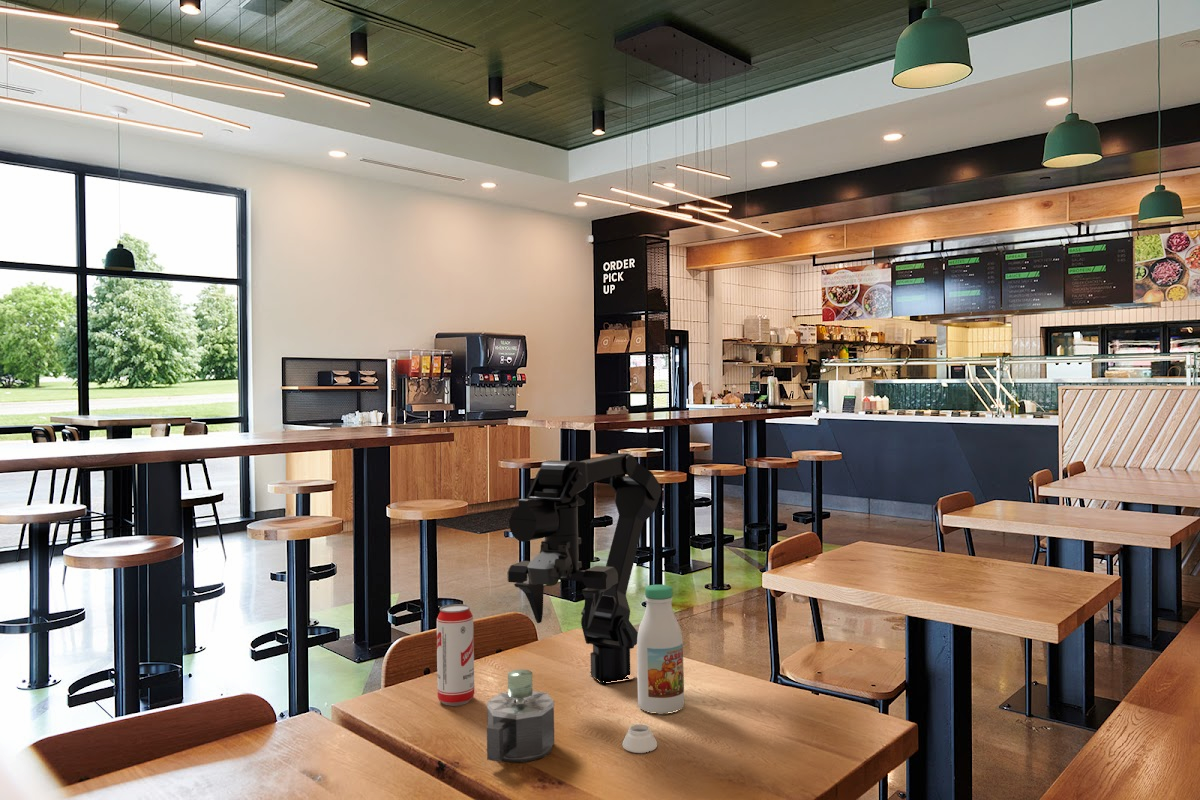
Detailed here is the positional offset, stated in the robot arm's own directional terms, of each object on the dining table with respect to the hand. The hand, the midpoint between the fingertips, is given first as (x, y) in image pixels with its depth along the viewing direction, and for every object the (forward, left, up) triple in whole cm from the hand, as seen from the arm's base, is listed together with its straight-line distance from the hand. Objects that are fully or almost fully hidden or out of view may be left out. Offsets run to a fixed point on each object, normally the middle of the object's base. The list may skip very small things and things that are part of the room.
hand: (562, 625), depth 137 cm
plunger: (+12, +16, -12) cm, 23 cm away
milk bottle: (-14, +9, -13) cm, 21 cm away
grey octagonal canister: (+13, +17, -13) cm, 25 cm away
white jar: (-4, +22, -13) cm, 26 cm away
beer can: (+17, -8, -13) cm, 23 cm away
